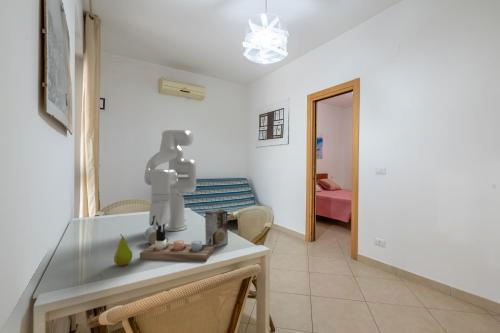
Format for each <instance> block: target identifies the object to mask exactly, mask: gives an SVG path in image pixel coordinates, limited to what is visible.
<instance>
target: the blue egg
mask: <svg viewBox="0 0 500 333" xmlns="http://www.w3.org/2000/svg"><path fill="white" fill-rule="evenodd" d="M190 244H191V251H192V252H201V251H202V245H203V241H201V240H193V241H192V242H191V243H190Z"/></svg>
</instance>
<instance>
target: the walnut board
mask: <svg viewBox="0 0 500 333" xmlns="http://www.w3.org/2000/svg"><path fill="white" fill-rule="evenodd" d="M214 251H215V248H214V245H206V244H202V251H201V252H192V251H191V243H189V244H188V243H184V250H183V251H173V243H169V242H166V249H165V250H156V249H155V243H154V244H153V245H151V244H150V246H148V247H146V248H145V249H143V250H142V251H141V252H139V260H163V261H185V262H186V261H187V262H207V261H208V260H207V259H209V258H210V257H211V255H212V254H213V253H214Z"/></svg>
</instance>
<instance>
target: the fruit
mask: <svg viewBox="0 0 500 333" xmlns="http://www.w3.org/2000/svg"><path fill="white" fill-rule="evenodd" d="M120 236H121V239H120V240H119V242H118V246H117V250H116V251H115V253H114V256H113V262H114V263H115V264H116V265H117V266H120V267H121V266H122V267H123V266H127V265H128V264H130V263H131V261H132V259H133V251H131V249H130V247H129V245H128V243H127V241H126V239H125V238H124V236H123V235H122V233H120Z"/></svg>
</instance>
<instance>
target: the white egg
mask: <svg viewBox="0 0 500 333" xmlns="http://www.w3.org/2000/svg"><path fill="white" fill-rule="evenodd" d="M166 243H167V242H166V239H165V240H164V241H157V240H156V241H155V249H156V250H165V249H166Z"/></svg>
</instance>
